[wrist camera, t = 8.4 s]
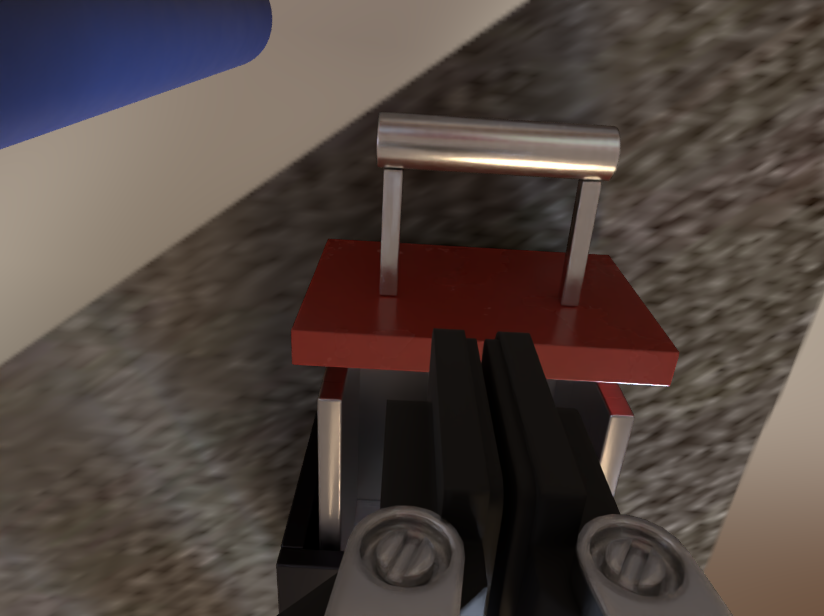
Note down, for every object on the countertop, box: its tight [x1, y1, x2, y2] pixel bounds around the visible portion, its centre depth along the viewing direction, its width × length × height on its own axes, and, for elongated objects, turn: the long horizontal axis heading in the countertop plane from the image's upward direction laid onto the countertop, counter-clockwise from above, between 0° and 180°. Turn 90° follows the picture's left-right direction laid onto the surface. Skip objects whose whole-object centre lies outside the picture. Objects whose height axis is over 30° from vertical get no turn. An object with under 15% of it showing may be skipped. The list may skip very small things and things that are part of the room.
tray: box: [291, 112, 679, 551], centre depth 23 cm, size 19×11×8 cm, turn 177°
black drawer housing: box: [276, 413, 344, 614], centre depth 29 cm, size 15×13×10 cm
